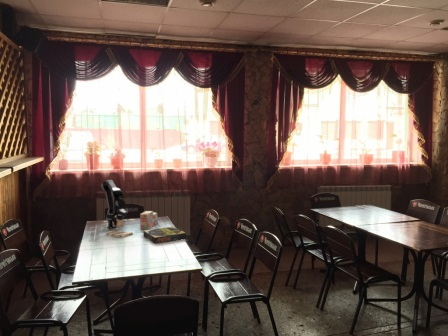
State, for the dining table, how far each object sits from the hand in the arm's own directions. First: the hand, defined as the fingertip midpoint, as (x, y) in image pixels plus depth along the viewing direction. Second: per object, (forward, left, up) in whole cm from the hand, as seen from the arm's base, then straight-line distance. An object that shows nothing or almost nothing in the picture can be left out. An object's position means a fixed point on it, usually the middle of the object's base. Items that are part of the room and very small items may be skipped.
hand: (117, 225), depth 319 cm
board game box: (+46, +1, -5) cm, 46 cm away
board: (+10, -9, -4) cm, 14 cm away
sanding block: (0, 0, -1) cm, 1 cm away
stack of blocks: (+11, +24, -5) cm, 27 cm away
